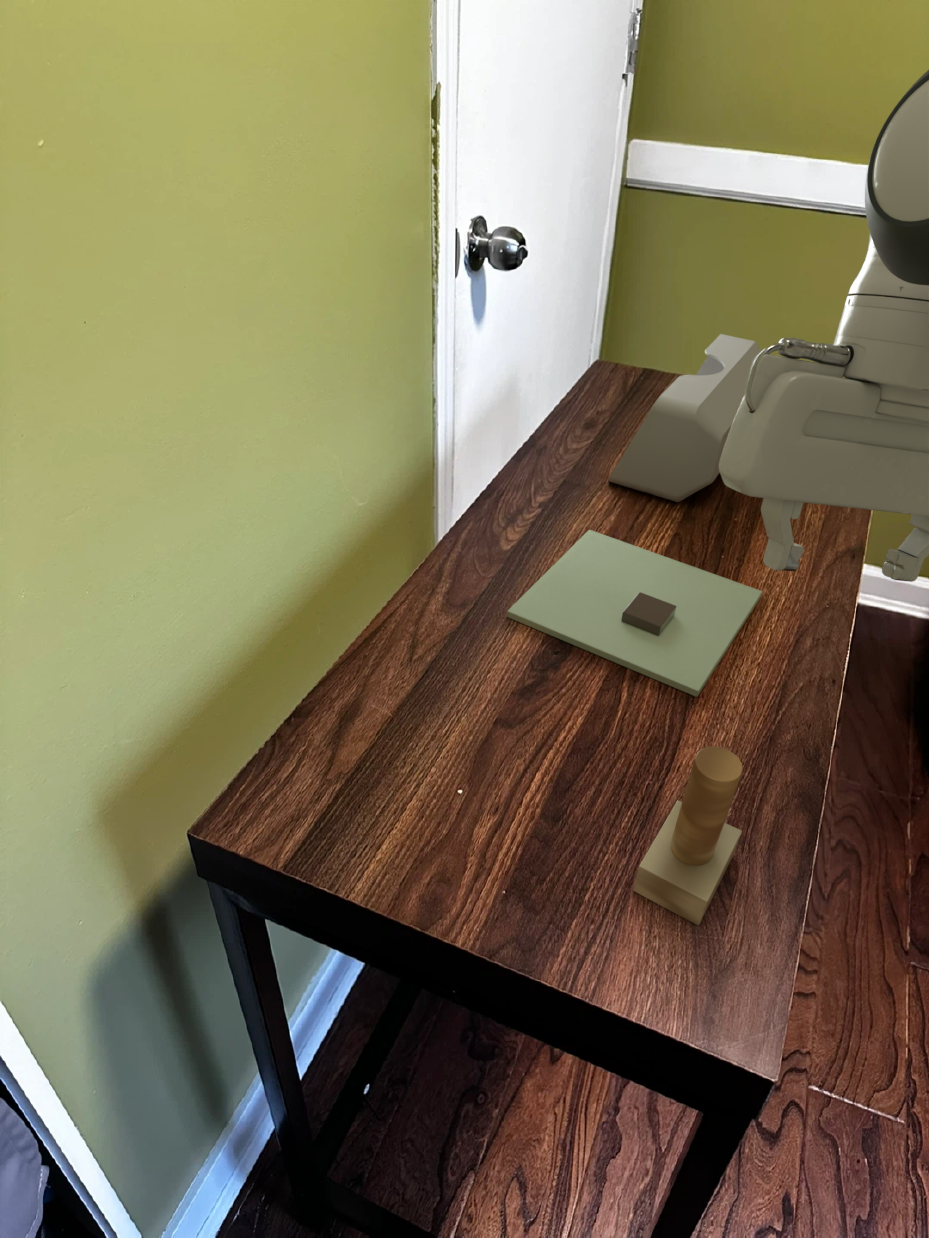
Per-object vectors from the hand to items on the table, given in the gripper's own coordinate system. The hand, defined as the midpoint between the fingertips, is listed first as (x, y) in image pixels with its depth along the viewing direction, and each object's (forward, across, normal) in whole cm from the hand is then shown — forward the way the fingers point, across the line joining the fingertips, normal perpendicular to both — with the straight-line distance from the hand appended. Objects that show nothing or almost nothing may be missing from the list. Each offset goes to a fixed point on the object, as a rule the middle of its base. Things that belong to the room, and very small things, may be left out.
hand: (839, 573), depth 57 cm
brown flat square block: (+13, +2, +26) cm, 29 cm away
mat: (+13, +2, +28) cm, 31 cm away
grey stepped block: (+2, +20, +54) cm, 58 cm away
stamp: (+23, -5, 0) cm, 24 cm away
